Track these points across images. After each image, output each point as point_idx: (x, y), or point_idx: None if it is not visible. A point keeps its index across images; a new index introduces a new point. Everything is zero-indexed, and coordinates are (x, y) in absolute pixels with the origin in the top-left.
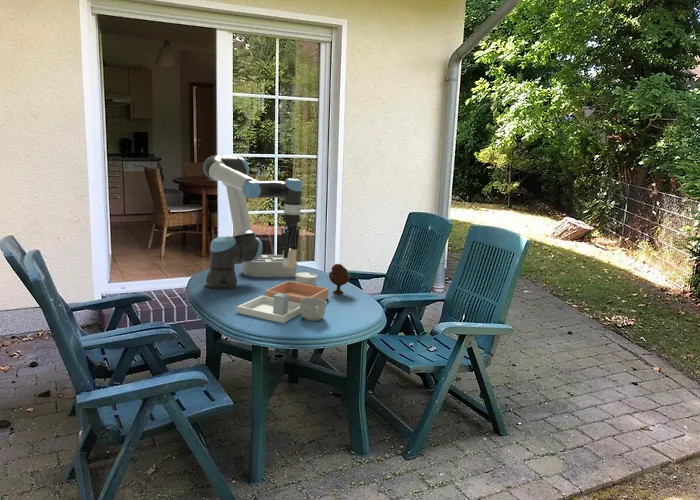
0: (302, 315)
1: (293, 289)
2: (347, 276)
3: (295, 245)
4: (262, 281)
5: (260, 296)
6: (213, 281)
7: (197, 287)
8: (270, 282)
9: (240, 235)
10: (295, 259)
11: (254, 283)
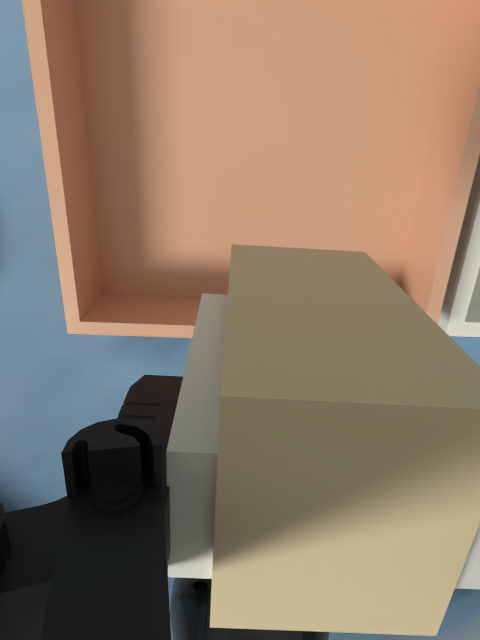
0: None
1: (95, 260)
2: None
3: (116, 580)
4: (39, 497)
5: (477, 335)
6: None
7: (345, 634)
8: (19, 459)
9: None
10: (250, 283)
11: None
